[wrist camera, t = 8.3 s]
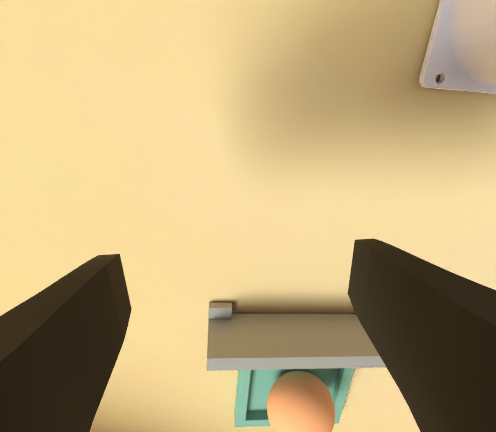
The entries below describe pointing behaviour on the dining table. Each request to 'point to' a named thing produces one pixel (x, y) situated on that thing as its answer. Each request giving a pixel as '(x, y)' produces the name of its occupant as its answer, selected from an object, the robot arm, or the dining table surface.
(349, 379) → the coaster
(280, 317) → the wall
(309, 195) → the dining table surface
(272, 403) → the ball
